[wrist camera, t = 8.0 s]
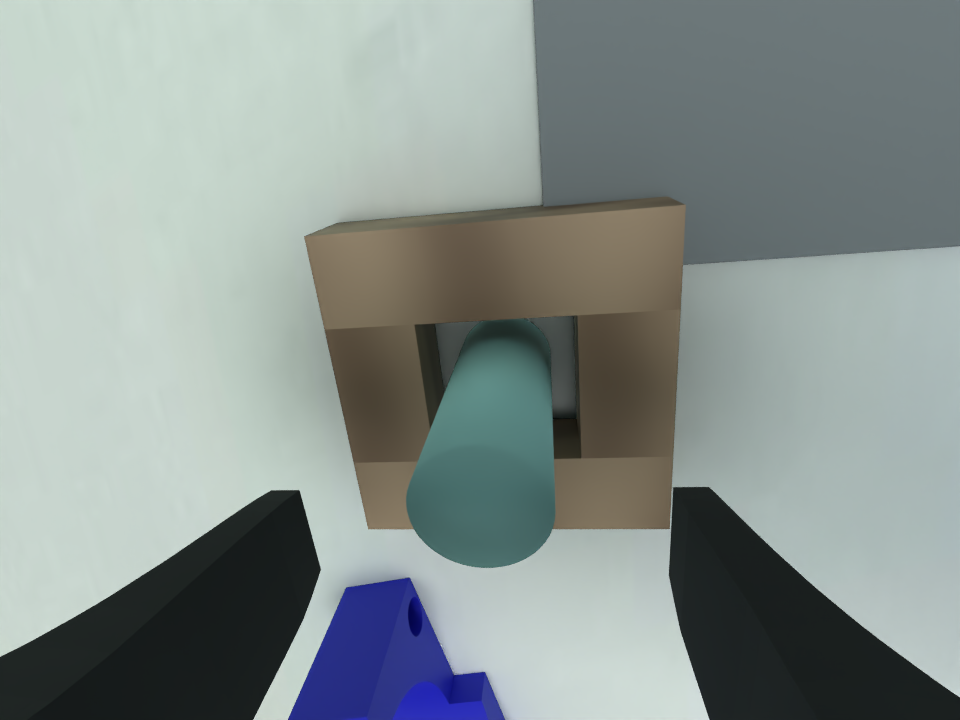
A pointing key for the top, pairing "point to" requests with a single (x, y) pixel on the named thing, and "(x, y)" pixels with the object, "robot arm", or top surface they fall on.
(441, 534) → the peg
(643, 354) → the socket block
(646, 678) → the top surface
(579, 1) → the mat
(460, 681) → the cable clip
